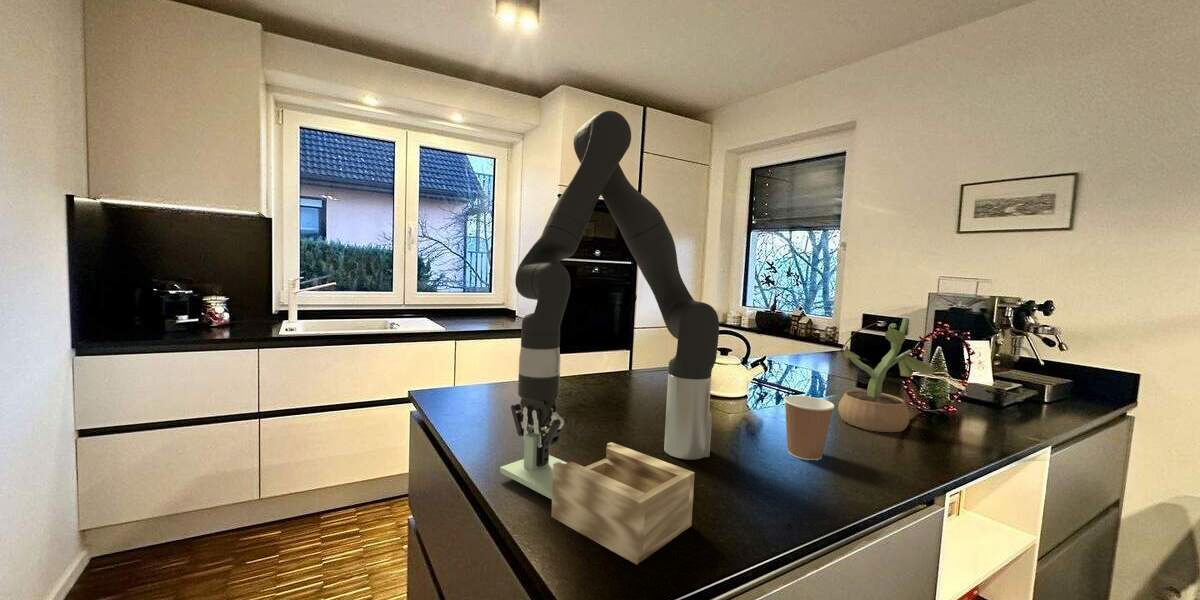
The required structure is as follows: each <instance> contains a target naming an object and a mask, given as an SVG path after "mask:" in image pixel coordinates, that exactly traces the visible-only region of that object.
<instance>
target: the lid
mask: <svg viewBox="0 0 1200 600" xmlns="http://www.w3.org/2000/svg"><path fill="white" fill-rule="evenodd" d="M543 439H545V434H543ZM523 443H524V445H523V450H524V451H523V459H522V458H521V459H519V460H516V461H514V462H511V463H507V464H505V465H502V466H499V473H500V474H502V475H504V476H506V477H507V478H509V479H512V480H514V481H515V482H518V483H520V484H521V485H523V486H525V487H527V488H529V489H531V490H533V491H535V492H536V493H539V494H541V495H542V496H544V497H546V498H548V499H550V500H552V487H553V464H555V463H557V462H560V463H563V464H566V463H568V462H566V461H565V460H562V459H560V458H557V457H555V456H552V455H550V454H549V460H548V463H547V464H546V465H544V466H542V467H538V466H537V465H536V458H537V447H538V446H537V435H536V434H535V433H534V432H533V433H530V434H526V435H525V441H524V442H523Z"/></svg>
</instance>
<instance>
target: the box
mask: <svg viewBox="0 0 1200 600" xmlns="http://www.w3.org/2000/svg"><path fill="white" fill-rule="evenodd" d="M605 454H606V455H605V457H606V458H603V459H601V460H597V461H596V462H593V463H591V464H589V465H586V466H583V465H581V464H579V463H576V462H574V461H569V462H567V463H566V464H563V463H560V462H557V463H555V464H553V487H552V499H551V516H550V517H551V518H553V520H557V521H558V522H560V523H562V524H563V525H565V526H567V527H569V528H571V529H572V530H574V531H576V532H577V533H579V534H581V535H582V536H584V537H587V538H588V539H590V540H591V541H593V542H595V543H597V544H599V545H601V546H602V547H604V548H606V549H607V550H609V551H611V552H613V553H615V554H617V555H618V556H620V557H622V558H623V559H626V560H627V561H629V562H631V563H633V564H635V565H639V564H640V563H642V562H643V561H645V560H646V559H648V558H649V557H650V556H651V555H653V554H654V553H656V552H657V551H658V550H659V549H661V548H663V547H664V546H666V545H667V544H668V543H670V542H671V541H673V539H675V538H677V537H678V536H680V535H681V534H682V533H684V532H685V531H686V530H688V529H690V527H692V524H693V522H692V521H693V505H694V504H693V503H694V491H695V490H694V489H695V488H694V487H695V475H696V472H694V471H692V470H689V469H686V468H683V467H681V466H678V465H675V464H672V463H670V462H667V461H664V460H661V459H658V458H656V457H653V456H650V455H648V454H645V453H642V452H640V451H636V450H634V449H632V448H628V447H626V446H623V445H620V444H619V443H618V444H617V443H614V442H608V443H606V448H605Z"/></svg>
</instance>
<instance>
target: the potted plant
mask: <svg viewBox="0 0 1200 600" xmlns="http://www.w3.org/2000/svg"><path fill="white" fill-rule="evenodd" d="M909 320H910V319H908V318H902V321H901V324H900V327H899V329H898V330H897V329H895V328H897V324H896V323H890V324H889V325H888V328H887V329H888V330H887V331H886V332H885V333H884V338H885V339H886V340H888V342H890V347H891V348H890V350H889V351H888V352H887V353H886V354H885V355H884V356H883V357H881V361H880V362H879V363H878V364H877V365H876V366H875V368H874V369H873V368H872V367H870V366H869V365H867V364H865V363H864V362H862V361H861V360H862V358H861V357H860V356H859V355H857V354H856V353H855V352H852V351H851V350H850V348H849V346H848V345H846V346H845V351H843V357H846V358H849V360H850V361H851V362H852V363H853V364H854V365H855V366H857V367H858V368H859V369H861V370H863V371H864V372H865V373H868V375H870V379H869V381H868V385H867V387H866V388H867V390H860V389H859V390H858V389H857V390H848V391H845V392H844V394H843V396H842V397H841V398H840V401H839V402H838V406H837V408H838V409H837V410H838V415H839V417H840V419H841V421H843V420H844V422H845V423H846V422H847V423H849V424H851V425H854V426H856V427H860V428H863V429H868V430H873V431H881V432H898V433H900V432H902V431H904V430H906V429H907V427H908V425H909V423H910V417H911V416H910V411H909V409H908V407H907V403H906V401H905V400H904V399H903V398H900V397H898V396H896V395H895V396H894V395H891V394H888V393H884V392H883V393H882V391H883V390H882V388H883V382H884V380H885V377H886V375H887V372H889V371H888V370H889V369H890V368H892V367H893V366H894V365H896V364H898V367H899V376H900V377H906V378H907V377H908V378H909V377H911V376H913V371H915V372H916V373H919V374H923V375H933V376H935V375H936V373H935V372H934V368H933V366H932V365H930V364H929V363H927V362H925V361H923V360H922V361H921V360H919V359H917V358H914V357H912V356H910V355H911V353H912V349H908V350H906V351H904V352H902V353H901V354H899V353H900V352H901V349H902V346H903V344H904V343H905V341H906V332H907V328H908V324H909ZM847 423H846V424H847ZM849 424H848V425H849ZM851 425H850V426H851ZM856 427H855V428H856ZM863 429H862V430H863Z"/></svg>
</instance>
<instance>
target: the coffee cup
mask: <svg viewBox="0 0 1200 600" xmlns="http://www.w3.org/2000/svg"><path fill="white" fill-rule="evenodd" d="M783 402H785V403H784V405H785V406H784V407H785V425H786V428H785V429H786V444H787V445H786V446H787V451H788V454H789V455H791V457H794V458H797V459H800V460H803V461H809V460H816V461H819V459H820V460H821V459H822V458H823V454H824V452H825V448H826V443H827V438H828V432H829V428H830V424H831V419H832V415H833V409H834V408H835V404H834V403H833V402H831V401H828V400H826V399H824V398H823V399H822V398H819V397H813V396H806V395H787V396H785V397H784V398H783Z"/></svg>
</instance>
